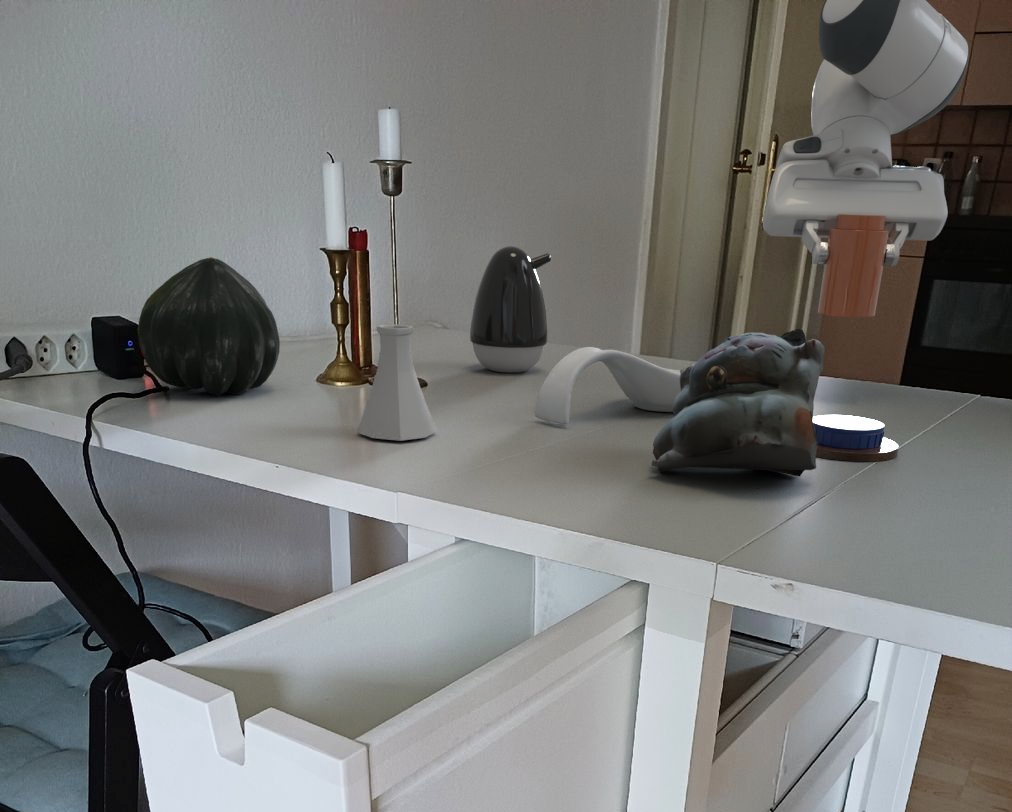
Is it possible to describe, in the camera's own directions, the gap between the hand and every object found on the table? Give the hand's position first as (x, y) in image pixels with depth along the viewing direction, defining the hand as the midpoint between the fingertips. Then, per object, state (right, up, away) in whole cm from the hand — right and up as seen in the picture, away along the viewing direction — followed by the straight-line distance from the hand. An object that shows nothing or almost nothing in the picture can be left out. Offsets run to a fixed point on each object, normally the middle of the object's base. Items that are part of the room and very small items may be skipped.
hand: (855, 261), depth 114 cm
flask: (-50, -24, -16) cm, 58 cm away
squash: (-73, -14, +2) cm, 74 cm away
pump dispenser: (-39, -6, +21) cm, 45 cm away
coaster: (-7, -25, -17) cm, 31 cm away
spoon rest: (-26, -18, -4) cm, 32 cm away
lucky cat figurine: (-20, -29, -26) cm, 44 cm away
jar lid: (-7, -23, -18) cm, 30 cm away
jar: (0, -5, +3) cm, 6 cm away
